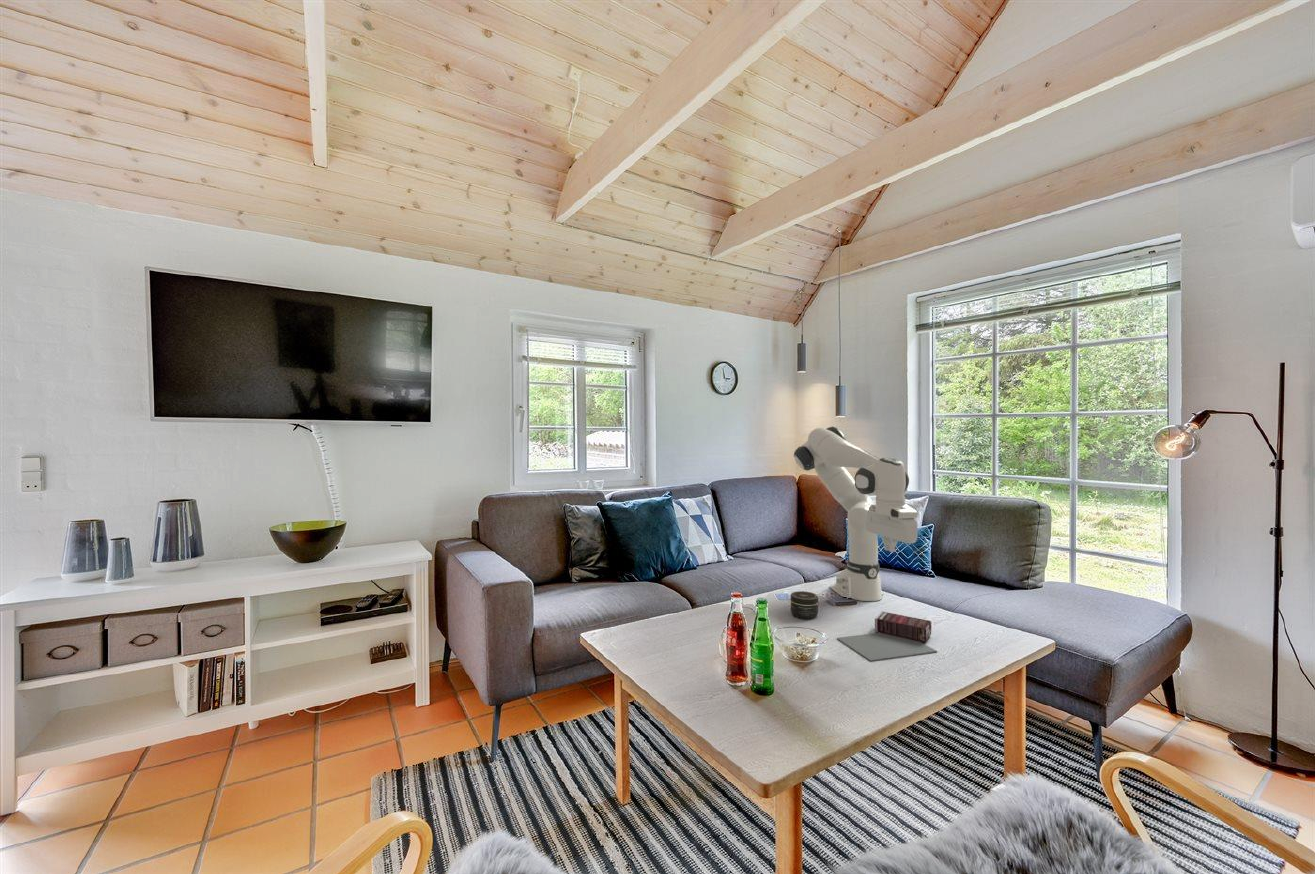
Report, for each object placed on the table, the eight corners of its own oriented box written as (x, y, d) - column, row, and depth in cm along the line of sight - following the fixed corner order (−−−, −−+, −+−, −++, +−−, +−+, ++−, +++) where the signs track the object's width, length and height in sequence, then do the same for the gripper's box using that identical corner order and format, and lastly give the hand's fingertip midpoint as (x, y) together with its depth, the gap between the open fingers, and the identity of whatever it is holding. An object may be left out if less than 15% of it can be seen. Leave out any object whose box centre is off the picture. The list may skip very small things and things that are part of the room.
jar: (821, 620, 189) (821, 599, 188) (794, 620, 189) (794, 599, 189) (813, 610, 199) (813, 590, 198) (787, 610, 199) (787, 590, 199)
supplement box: (874, 632, 177) (926, 643, 168) (874, 618, 177) (925, 628, 167) (881, 624, 184) (931, 634, 174) (881, 610, 184) (931, 620, 174)
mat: (836, 638, 172) (837, 637, 172) (898, 631, 178) (898, 630, 178) (870, 661, 156) (870, 660, 156) (937, 652, 162) (937, 650, 162)
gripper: (861, 504, 178) (860, 544, 179) (904, 514, 159) (903, 559, 159) (876, 503, 180) (876, 543, 180) (921, 513, 160) (920, 558, 161)
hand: (889, 550), depth 170 cm, fingers closed
